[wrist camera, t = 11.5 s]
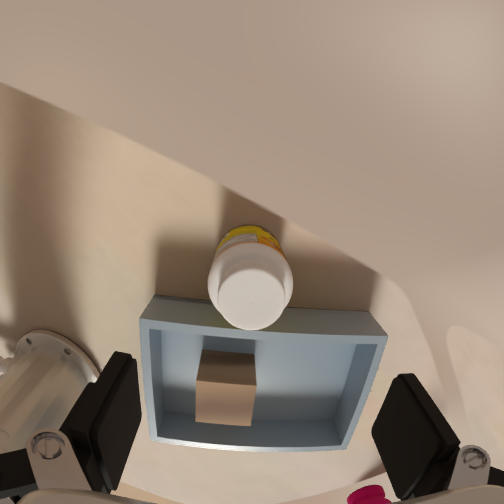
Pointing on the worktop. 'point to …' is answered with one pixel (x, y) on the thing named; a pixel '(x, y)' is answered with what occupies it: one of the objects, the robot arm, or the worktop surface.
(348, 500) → the pepper mill
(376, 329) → the tote
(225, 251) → the supplement bottle
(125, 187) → the worktop surface
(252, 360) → the walnut cube
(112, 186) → the worktop surface
